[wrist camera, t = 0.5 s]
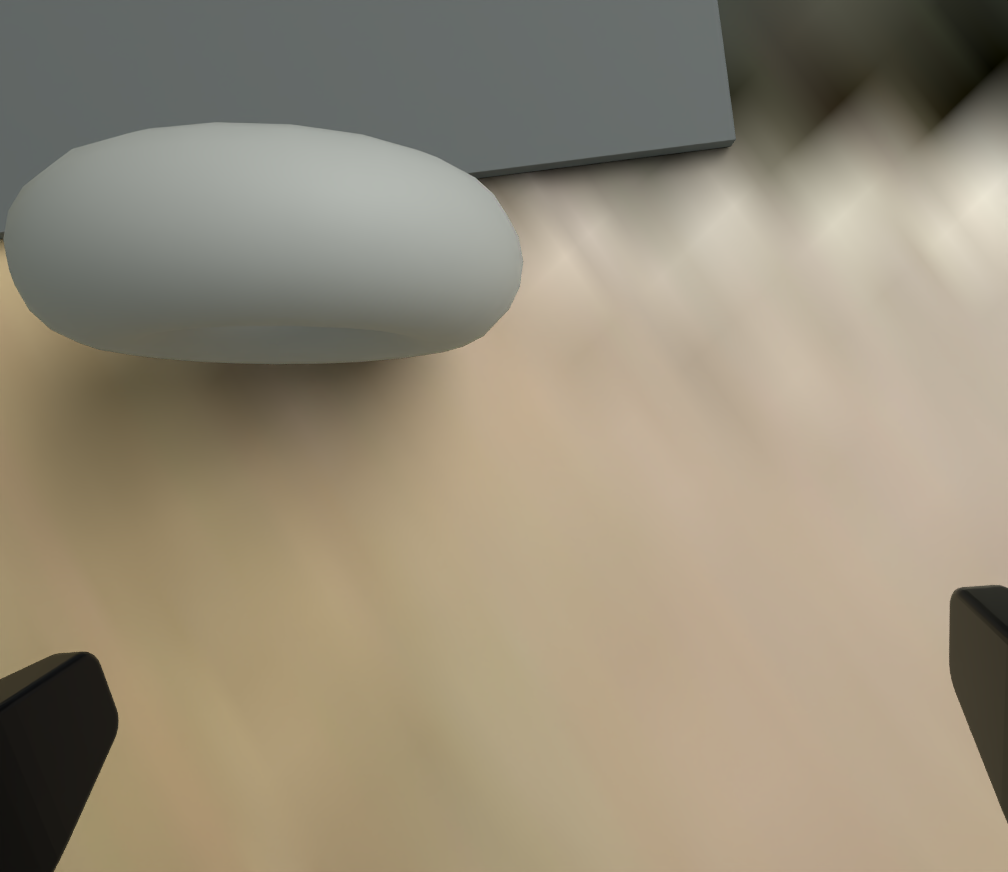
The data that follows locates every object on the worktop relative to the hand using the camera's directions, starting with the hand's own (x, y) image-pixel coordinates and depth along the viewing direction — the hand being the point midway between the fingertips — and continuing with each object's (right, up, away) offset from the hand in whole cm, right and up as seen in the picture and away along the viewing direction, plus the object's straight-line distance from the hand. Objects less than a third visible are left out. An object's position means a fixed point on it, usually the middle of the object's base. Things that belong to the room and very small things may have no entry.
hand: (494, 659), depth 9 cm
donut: (-4, +6, +14) cm, 16 cm away
